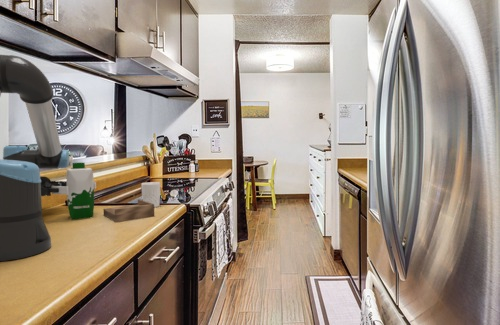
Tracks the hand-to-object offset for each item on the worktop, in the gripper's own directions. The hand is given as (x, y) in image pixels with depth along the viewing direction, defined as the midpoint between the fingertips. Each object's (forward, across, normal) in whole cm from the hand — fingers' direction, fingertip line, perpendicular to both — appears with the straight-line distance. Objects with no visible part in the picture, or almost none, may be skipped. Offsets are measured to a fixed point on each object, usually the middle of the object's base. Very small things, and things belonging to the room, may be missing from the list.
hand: (82, 187), depth 119 cm
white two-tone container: (-1, 0, -11) cm, 11 cm away
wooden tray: (+15, -6, -11) cm, 20 cm away
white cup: (+14, -24, -11) cm, 30 cm away
